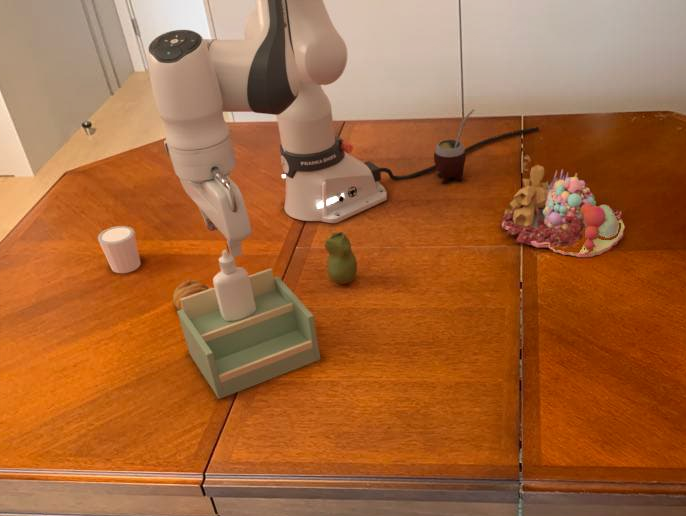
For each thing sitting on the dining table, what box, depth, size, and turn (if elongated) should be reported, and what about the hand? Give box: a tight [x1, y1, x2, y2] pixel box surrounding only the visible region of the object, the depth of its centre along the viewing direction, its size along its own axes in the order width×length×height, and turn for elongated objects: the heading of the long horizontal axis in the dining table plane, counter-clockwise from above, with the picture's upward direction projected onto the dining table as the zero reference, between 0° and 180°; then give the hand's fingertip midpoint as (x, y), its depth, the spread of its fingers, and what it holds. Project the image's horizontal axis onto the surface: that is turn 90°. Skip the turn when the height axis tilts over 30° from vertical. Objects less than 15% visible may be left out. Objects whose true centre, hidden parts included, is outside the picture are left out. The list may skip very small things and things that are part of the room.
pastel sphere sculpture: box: [501, 164, 626, 258], centre depth 162 cm, size 25×24×9 cm
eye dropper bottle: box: [212, 249, 256, 322], centre depth 129 cm, size 4×6×12 cm
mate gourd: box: [433, 108, 475, 185], centre depth 178 cm, size 8×8×15 cm
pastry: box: [172, 279, 210, 311], centre depth 146 cm, size 9×7×4 cm
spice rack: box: [176, 267, 321, 400], centre depth 132 cm, size 18×14×11 cm
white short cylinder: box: [97, 225, 142, 274], centre depth 157 cm, size 7×7×7 cm
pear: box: [324, 231, 358, 285], centre depth 149 cm, size 6×5×10 cm
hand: (224, 241), depth 124 cm, fingers open, 8 cm apart
